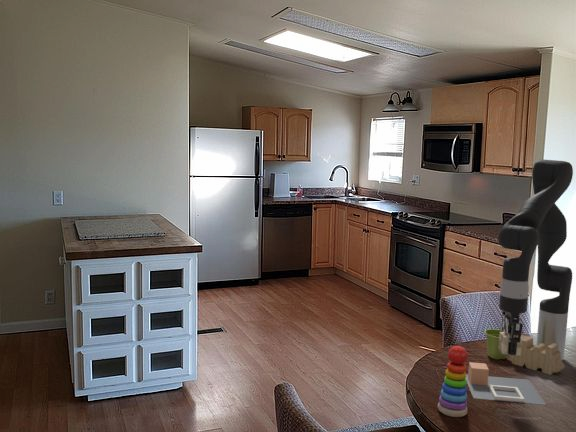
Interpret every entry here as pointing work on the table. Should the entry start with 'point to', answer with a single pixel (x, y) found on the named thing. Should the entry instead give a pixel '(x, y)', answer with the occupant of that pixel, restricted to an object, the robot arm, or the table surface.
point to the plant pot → (494, 344)
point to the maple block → (504, 343)
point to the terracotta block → (478, 373)
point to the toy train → (539, 356)
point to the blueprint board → (506, 390)
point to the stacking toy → (454, 385)
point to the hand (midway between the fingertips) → (509, 350)
